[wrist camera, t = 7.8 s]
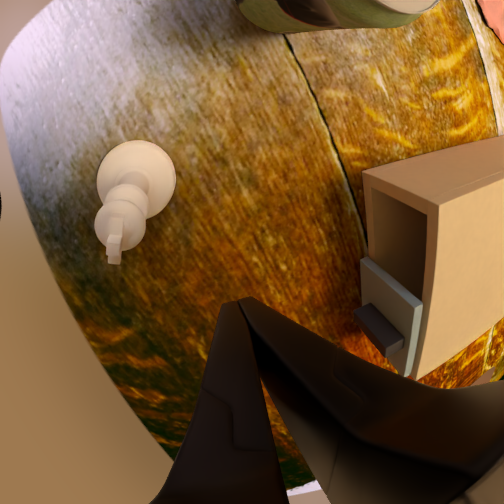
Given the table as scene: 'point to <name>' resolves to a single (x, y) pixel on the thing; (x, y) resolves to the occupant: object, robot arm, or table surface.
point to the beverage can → (332, 14)
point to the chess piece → (131, 194)
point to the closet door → (388, 316)
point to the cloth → (494, 15)
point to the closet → (442, 241)
